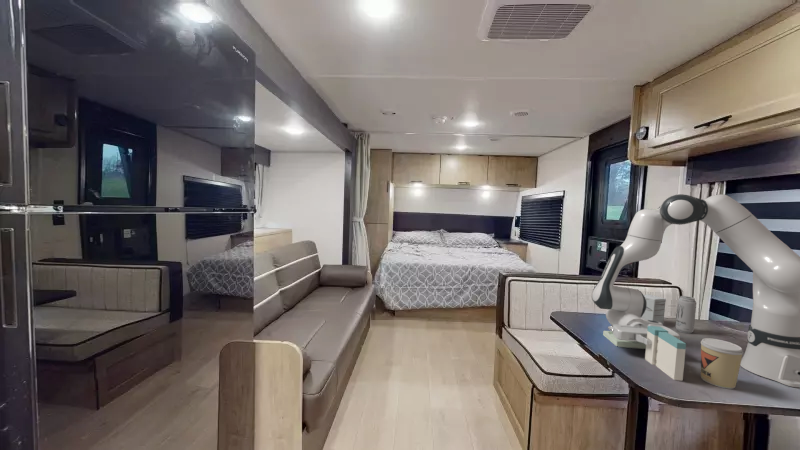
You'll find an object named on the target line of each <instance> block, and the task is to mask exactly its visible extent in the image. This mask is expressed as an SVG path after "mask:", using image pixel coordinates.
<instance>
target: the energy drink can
mask: <svg viewBox="0 0 800 450" xmlns="http://www.w3.org/2000/svg"><path fill="white" fill-rule="evenodd" d="M696 310H697V302H696V299H695V297H692V296H687V295H680V296H679V298H678V299H677V308H676V317H675V318H676V319H675V328H676V331H678V332H680V333H684V334H692V333H693V332H694V329H695V322H696V312H697V311H696Z"/></svg>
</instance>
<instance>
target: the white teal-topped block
mask: <svg viewBox="0 0 800 450" xmlns="http://www.w3.org/2000/svg"><path fill="white" fill-rule="evenodd" d="M659 332H667V333H668V331H667V330H665V329H663V328H662V327H657V326H648V330H647V338H648V339H650V340H651V341H652V343H651V344H652V345H646V349H645V353H644V360H645V361H646V362H648V363H649V364H650V365H652V366H656V356H657V353H656V352H657V345H658V343H657V341H658V334H659Z"/></svg>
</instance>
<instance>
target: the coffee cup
mask: <svg viewBox="0 0 800 450" xmlns="http://www.w3.org/2000/svg"><path fill="white" fill-rule="evenodd" d="M700 344H701V345H700V377H701V379H702V380H703V381H705V382H706V383H707V384H710V385H712V386H716V387H719V388H723V389H729V390H733V389H735V388H736V385H737V383H738V378H739V372H740V368H741V365H740V364H741V360H742V358H743V355H744V350H743V348H742V347H741V346H740V345H738V344H735V343H734V342H730V341H726V340H722V339H719V338H718V339H717V338H712V337H711V338H709V337H707V338H706V337H705V338H702V340H700Z"/></svg>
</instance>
